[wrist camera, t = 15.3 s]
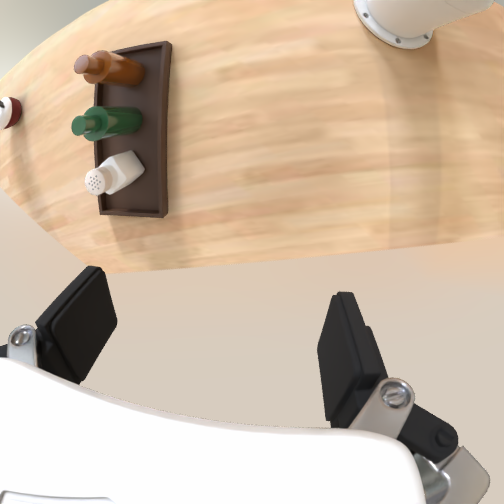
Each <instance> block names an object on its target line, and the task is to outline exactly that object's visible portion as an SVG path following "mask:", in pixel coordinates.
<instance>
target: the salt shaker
mask: <svg viewBox="0 0 504 504" xmlns="http://www.w3.org/2000/svg"><path fill="white" fill-rule="evenodd" d="M144 170H145V169H144V167H143V165H142V164H141V162H140V161H139V159H138V158H137V156H136V155H135V153H134V152H133V151H128V152H124V153H121V154H117V155H114V156H111V157H109V158H107V159H106V160H105V161H104V162H103V163H102V164H101V165H100V166H99V167H98V168H95V169H93V170H91V171H89V172H88V173H87V175H86V177H85V186H86V188H87V191H88V192H89V193H91V194H92V195H96V196H98V195H100V194H102V193H104V192H106V193H107V194H109V195H110V194H113V193H115V192H117V191H118V190H120V189H122V188H124V187H126V186H128V185H129V184H131V183H132V182H133V181H134V180H136V179H137V178H138V177H139V176H140V175H141V174H143V172H144Z"/></svg>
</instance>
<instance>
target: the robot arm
mask: <svg viewBox="0 0 504 504" xmlns="http://www.w3.org/2000/svg"><path fill="white" fill-rule="evenodd" d="M493 2H494V0H354V7H355V10H356V12H357V14H358V17H359V18H360V20H361V21H362V23H363V24H364V25H365V26H366V27H367V28H368V29H369V30H370V31H371V32H372V33H373V34H374V35H375V36H377V37H378V38H380V39H381V40H382V41H384V42H386V43H388V44H390V45H392V46H395V47H398V48H402V49H416V48H419V47H422V46H424V45H425V44H427V43H428V42H429V41H430V39H431V37H432V35H433V30H434V29H436V28H439V27H441V26H444V25H446V24H449V23H451V22H454V21H457V20H459V19H462V18H465V17H468V16H470V15H473V14H476V13H479V12H482V11H485V10H487V9H488V8H489V7H491V5H492V4H493ZM364 16H365V17H366V18H365V17H364ZM35 323H36V325H37V327H38V328H37V329H36V330H35V329H34V327H33V326H31V325H27V324H26V325H21V326H19V327H17V328H15V329H14V330H13V331H12V332H11V334H10V335H9V338H8V344H6V345H3V346H0V504H478V503H479V502H480V500H481V499H482V498H483V496H484V495H485V493H486V492H487V490H488V488H489V485H490V476H489V474H488V473H487V471H486V470H485V469H484V468H483V467H482V466H481V465H480V463H479V462H478V461H477V460H476V459H475V458H474V457H473V456H472V455H471V454H470V453H469V451H468V450H466V448H465V447H464V446H462V447H459V446H458V435H457V432H456V430H455V429H454V428H453V427H452V426H451V425H450V424H448V423H446V422H444V421H443V420H441V419H440V418H438V417H436V416H435V415H433V414H431V413H429V412H428V411H426V410H425V409H423V408H421V407H419V406H418V405H416V404H415V403H414V401H415V393H414V391H413V389H412V387H411V386H410V385H409V384H408V383H407V382H405V381H404V380H401V379H399V378H388V375H387V372H386V369H385V366H384V363H383V360H382V357H381V354H380V352H379V349H378V346H377V343H376V341H375V338H374V335H373V332H372V330H371V328H370V327H369V326H365V323H364V321H363V317H362V315H361V312H360V310H359V307H358V304H357V302H356V299H355V297H354V294H353V293H352V292H338V293H337V295H333V296H332V298H331V302H330V305H329V309H328V312H327V316H326V319H325V323H324V326H323V329H322V333H321V336H320V339H319V342H318V347H317V353H318V359H319V367H320V375H321V383H322V390H323V399H324V408H325V417H326V421H330V423H331V428H304V427H302V428H301V427H277V426H262V425H250V424H239V423H231V422H222V421H215V420H209V419H203V418H196V417H191V416H185V415H180V414H176V413H171V412H166V411H162V410H157V409H154V408H150V407H146V406H142V405H138V404H135V403H131V402H127V401H124V400H121V399H117V398H115V397H111V396H108V395H105V394H102V393H99V392H97V391H94V390H91V389H88V388H85V387H83V386H80V385H79V384H80V382H81V381H84V380H85V378H86V376H87V375H88V373H89V371H90V369H91V367H92V366H93V364H94V362H95V361H96V359H97V357H98V356H99V354H100V352H101V350H102V349H103V347H104V346H105V344H106V342H107V341H108V339H109V338H110V336H111V334H112V332H113V331H114V329H115V328H116V326H117V317H116V313H115V310H114V306H113V303H112V299H111V295H110V291H109V287H108V283H107V279H106V275H105V272H104V271H103V270H102V269H101V268H100V267H96V266H88V267H86V268H85V269H84V270H83V271H82V272H81V273H80V274H79V275H78V276H77V277H76V278H75V280H73V281H72V282H71V283H70V285H68V286H67V288H66V289H65V290H64V291H63V292H62V293H61V294H60V295H59V296H58V297H57V298H56V299H55V300H54V301H53V302H52V304H51V305H50V306H49V307H48V308H47V309H46V310H45V311H44V312H43V314H42V315H41V316H40V317H39V318H38V320H37V321H36V322H35ZM424 494H425V495H424Z"/></svg>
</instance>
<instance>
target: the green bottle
mask: <svg viewBox="0 0 504 504" xmlns="http://www.w3.org/2000/svg"><path fill="white" fill-rule="evenodd" d="M142 121H143V117H142V113H141V111H140V110H139V109H138V108H137V107H134V106H94V107H91V108H89V109H88V110H87V111H86V112H85V114H84V115H82V116H77V117H76V118H75V119H74V120H73V122H72V132H73V133H74V134H75V135H77V136H80V135H84V137H85V138H86V139H87V140H89V141H98V140H103V139H108V138H113V137H118V136H124V135H129V134H133V133H135V132H137V131H138V130H139V128H140V127H141V125H142Z"/></svg>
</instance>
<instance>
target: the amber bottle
mask: <svg viewBox="0 0 504 504" xmlns="http://www.w3.org/2000/svg"><path fill="white" fill-rule="evenodd" d="M74 70H75V72H76V73H77V74H83V76H84V78H85V80H86V81H87V82H88V83H90V84H100V85H109V86H117V87H125V88H133V87H135V86H137V85H138V84H139V83H140V82H141V81H142V80H143V78H144V75H145V68H144V66H143V64H142V63H141V62H138V61H135V60H133V59H130V58H127V57H123V56H120V55H117V54H114V53H111V52H107V51H103V50H102V51H97V52H95V53H93V54H92V55H91V56H88V55H82V56H80V57H79V58H78V59H77V60H76V62H75V65H74Z"/></svg>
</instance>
